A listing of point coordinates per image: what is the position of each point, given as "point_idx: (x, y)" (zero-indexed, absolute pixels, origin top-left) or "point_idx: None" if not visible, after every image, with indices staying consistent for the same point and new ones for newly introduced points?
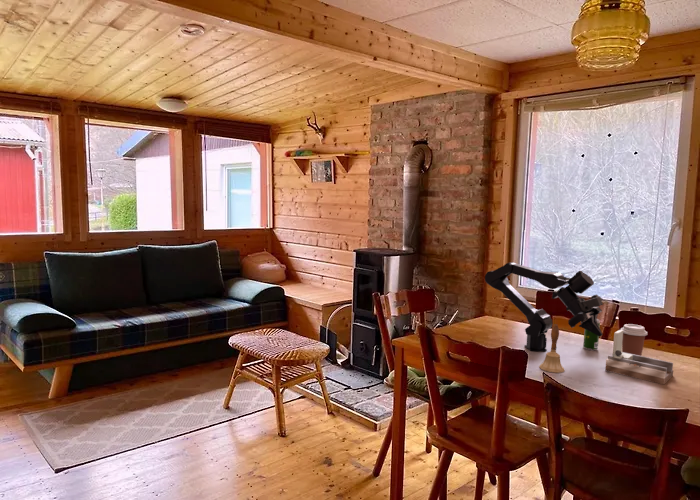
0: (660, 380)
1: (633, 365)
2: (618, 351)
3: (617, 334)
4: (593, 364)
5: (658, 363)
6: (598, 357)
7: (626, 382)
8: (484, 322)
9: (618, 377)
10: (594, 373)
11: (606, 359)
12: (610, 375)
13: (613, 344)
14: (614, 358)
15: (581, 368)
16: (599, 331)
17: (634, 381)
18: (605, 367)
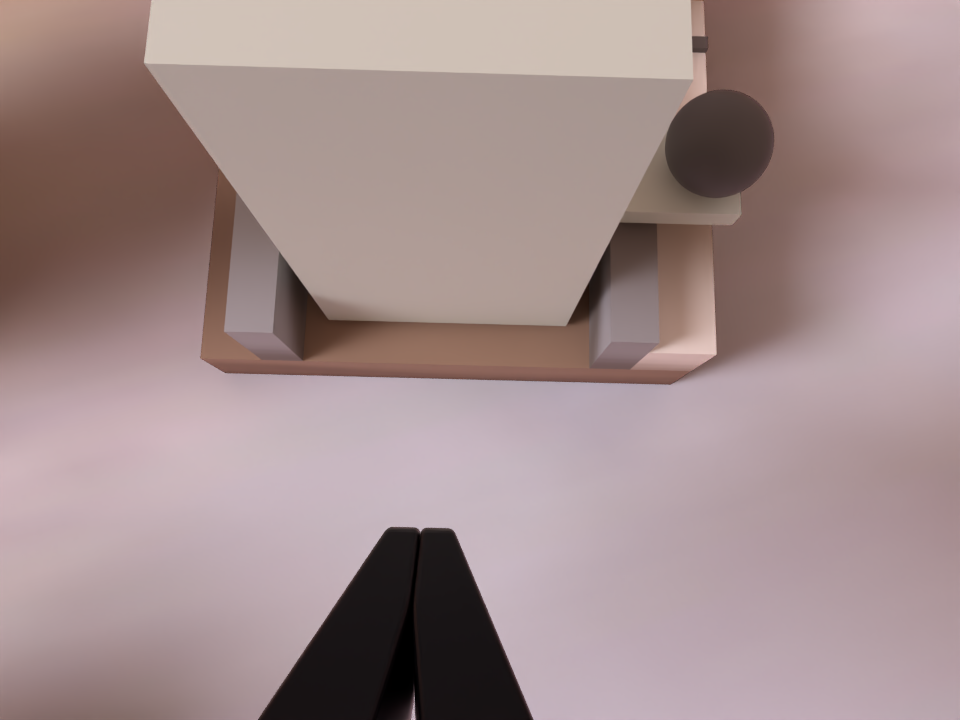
0: None
1: (701, 2)
2: (764, 117)
3: (676, 15)
4: (526, 582)
5: None
6: (122, 641)
7: (904, 92)
8: None
9: (805, 197)
10: (896, 447)
11: (714, 350)
12: (808, 283)
13: (616, 222)
14: (653, 248)
15: (835, 644)
16: (482, 607)
17: (798, 42)
18: (679, 378)
